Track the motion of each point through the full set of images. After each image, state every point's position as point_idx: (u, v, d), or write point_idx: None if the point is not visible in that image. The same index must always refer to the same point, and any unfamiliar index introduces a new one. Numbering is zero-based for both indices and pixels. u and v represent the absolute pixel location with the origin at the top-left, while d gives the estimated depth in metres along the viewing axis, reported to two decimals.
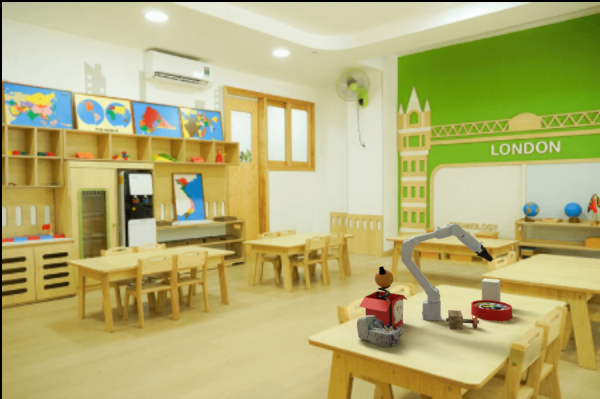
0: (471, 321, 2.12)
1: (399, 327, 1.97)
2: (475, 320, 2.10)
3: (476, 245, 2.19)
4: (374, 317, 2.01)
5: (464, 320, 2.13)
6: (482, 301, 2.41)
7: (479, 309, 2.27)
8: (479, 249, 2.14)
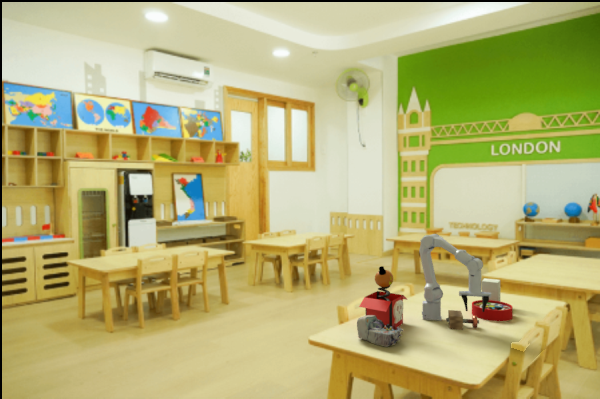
0: (471, 321, 2.12)
1: (399, 327, 1.97)
2: (475, 320, 2.10)
3: None
4: (374, 317, 2.02)
5: (464, 320, 2.13)
6: None
7: (480, 309, 2.27)
8: (459, 293, 2.14)
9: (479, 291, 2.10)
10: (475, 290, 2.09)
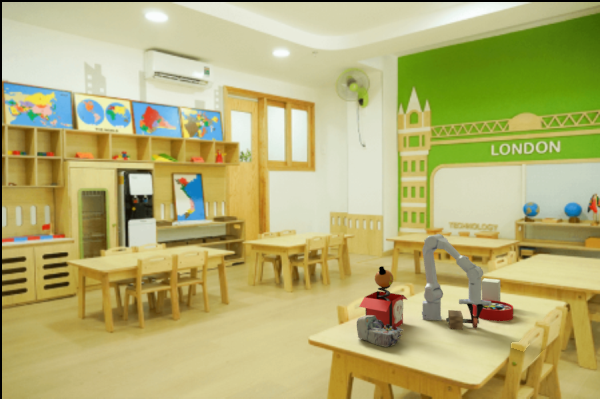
0: (471, 321, 2.12)
1: (398, 327, 1.97)
2: (475, 320, 2.10)
3: None
4: (374, 317, 2.01)
5: (464, 320, 2.13)
6: None
7: None
8: (459, 301, 2.14)
9: (479, 299, 2.10)
10: (475, 298, 2.10)
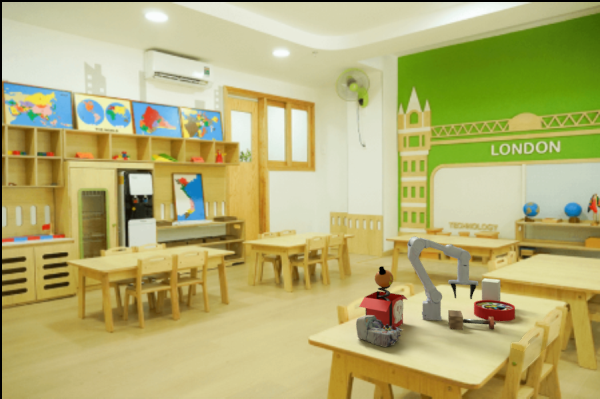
0: (488, 322, 2.10)
1: (397, 327, 1.96)
2: (492, 321, 2.08)
3: (457, 279, 2.28)
4: (374, 317, 2.02)
5: (480, 321, 2.11)
6: (484, 301, 2.41)
7: (482, 309, 2.27)
8: (448, 281, 2.29)
9: (467, 279, 2.25)
10: (463, 279, 2.25)
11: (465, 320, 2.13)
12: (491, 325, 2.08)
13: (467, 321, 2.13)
